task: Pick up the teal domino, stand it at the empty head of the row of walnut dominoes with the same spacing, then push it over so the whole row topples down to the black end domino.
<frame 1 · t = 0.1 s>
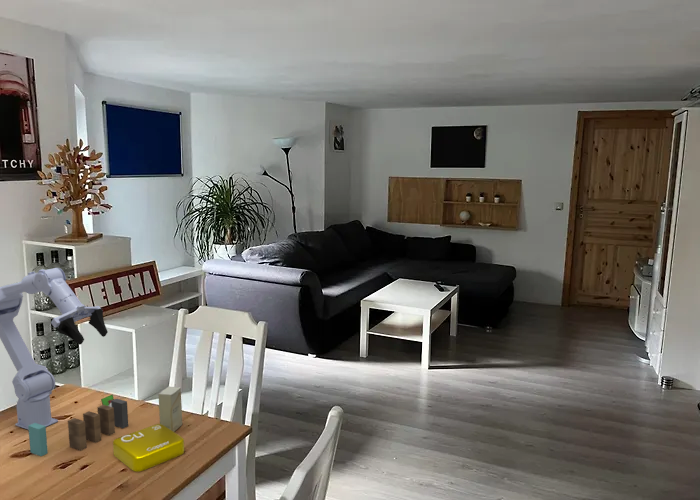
hand: (93, 338, 156), 32 cm above the table, tool tilted 50°, fingers open, 7 cm apart
black end domino: (120, 425, 173), on the table
walnut domino 3: (107, 432, 169), on the table
walnut domino 2: (93, 439, 165), on the table
element tile: (149, 454, 158), on the table
skincare box: (171, 428, 172), on the table
teal domino: (39, 452, 157), on the table
geometric puzzle: (110, 416, 180), on the table
walnut domino 1: (78, 447, 160), on the table
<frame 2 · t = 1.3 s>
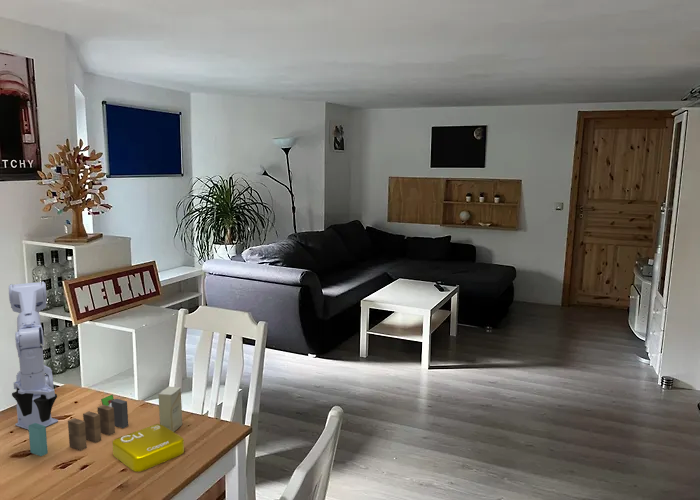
hand: (36, 417, 155), 10 cm above the table, tool pointing down, fingers open, 7 cm apart
nothing on the table moved.
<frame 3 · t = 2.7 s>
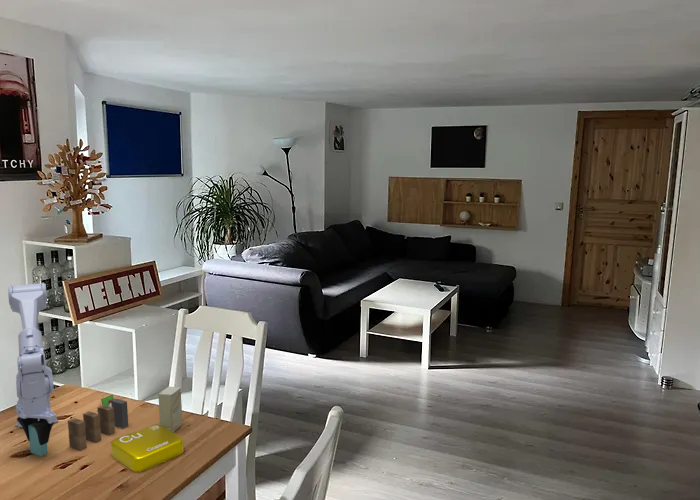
hand: (38, 441, 156), 3 cm above the table, tool pointing down, fingers closed on teal domino, 4 cm apart
teal domino: (39, 452, 157), on the table, touching gripper
everything else where it was.
when the fingers open (4 cm above the table, at t = 6.4 s): teal domino stays where it is, on the table.
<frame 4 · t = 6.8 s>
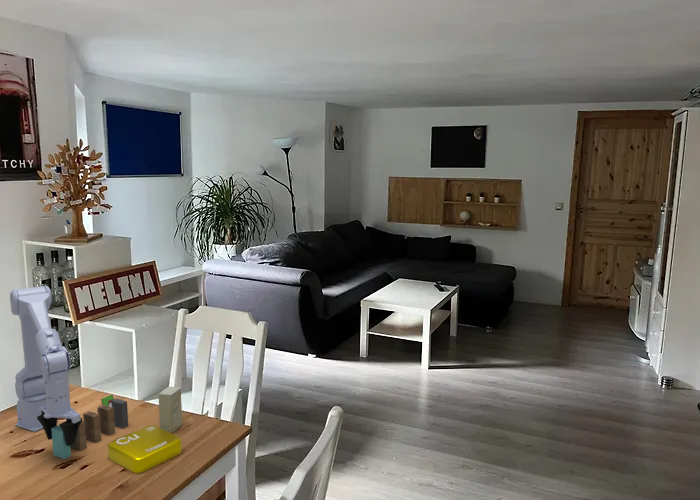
hand: (61, 441, 155), 4 cm above the table, tool pointing down, fingers open, 7 cm apart
teal domino: (62, 455, 156), on the table
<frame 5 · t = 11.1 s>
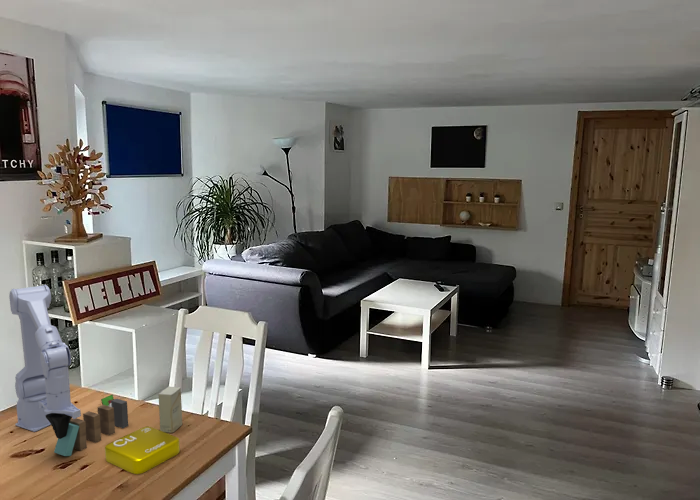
hand: (61, 436, 155), 5 cm above the table, tool pointing down, fingers closed, pressing on teal domino
teal domino: (62, 454, 156), on the table, tilted 24°, touching gripper
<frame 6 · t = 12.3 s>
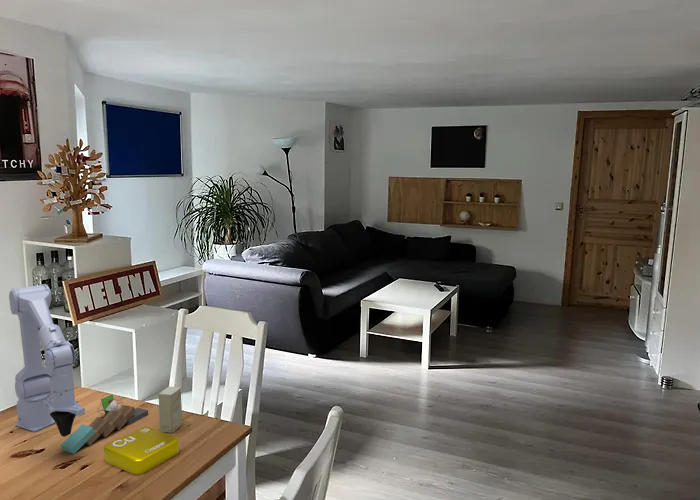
hand: (65, 434, 156), 5 cm above the table, tool pointing down, fingers closed
black end domino: (123, 422, 175), on the table, tilted 90°
walnut domino 3: (112, 426, 170), point 1 cm above the table, tilted 71°, touching walnut domino 2
walnut domino 2: (99, 434, 166), point 1 cm above the table, tilted 65°, touching walnut domino 1, walnut domino 3
teal domino: (66, 449, 157), point 1 cm above the table, tilted 67°, touching walnut domino 1
walnut domino 1: (82, 441, 161), point 1 cm above the table, tilted 67°, touching teal domino, walnut domino 2
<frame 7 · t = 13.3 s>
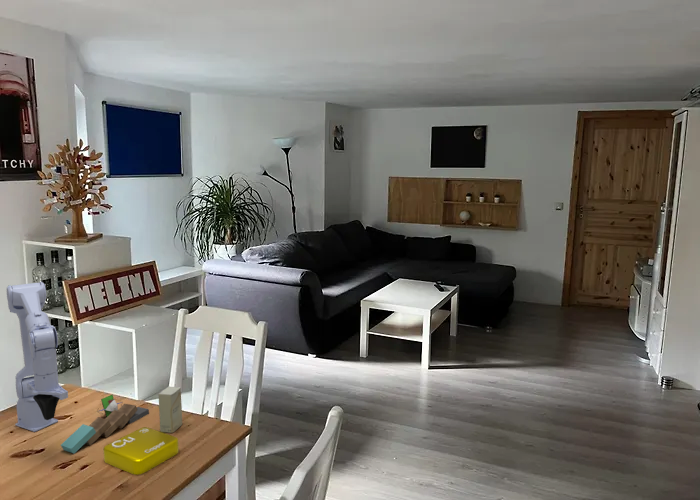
hand: (49, 418, 155), 10 cm above the table, tool pointing down, fingers closed
black end domino: (124, 421, 175), on the table, tilted 90°, touching walnut domino 3
walnut domino 3: (114, 425, 171), point 1 cm above the table, tilted 70°, touching black end domino
walnut domino 2: (100, 433, 166), point 1 cm above the table, tilted 68°, touching walnut domino 1
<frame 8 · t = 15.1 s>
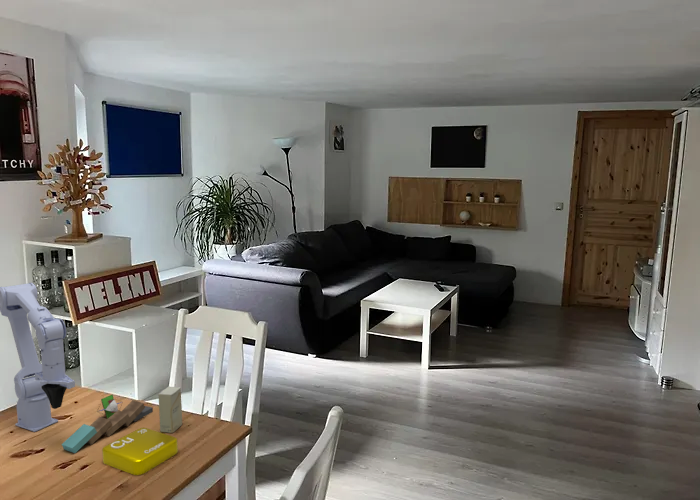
hand: (56, 407, 162), 10 cm above the table, tool pointing down, fingers closed
black end domino: (128, 419, 177), on the table, tilted 90°
walnut domino 3: (120, 422, 173), point 1 cm above the table, tilted 66°
walnut domino 2: (102, 432, 167), point 1 cm above the table, tilted 72°
walnut domino 1: (84, 440, 162), point 1 cm above the table, tilted 69°, touching teal domino
at the end: black end domino tilted 90°; teal domino tilted 69°; teal domino inside the target area (0.8 cm from its centre), point 0.9 cm above the table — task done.
